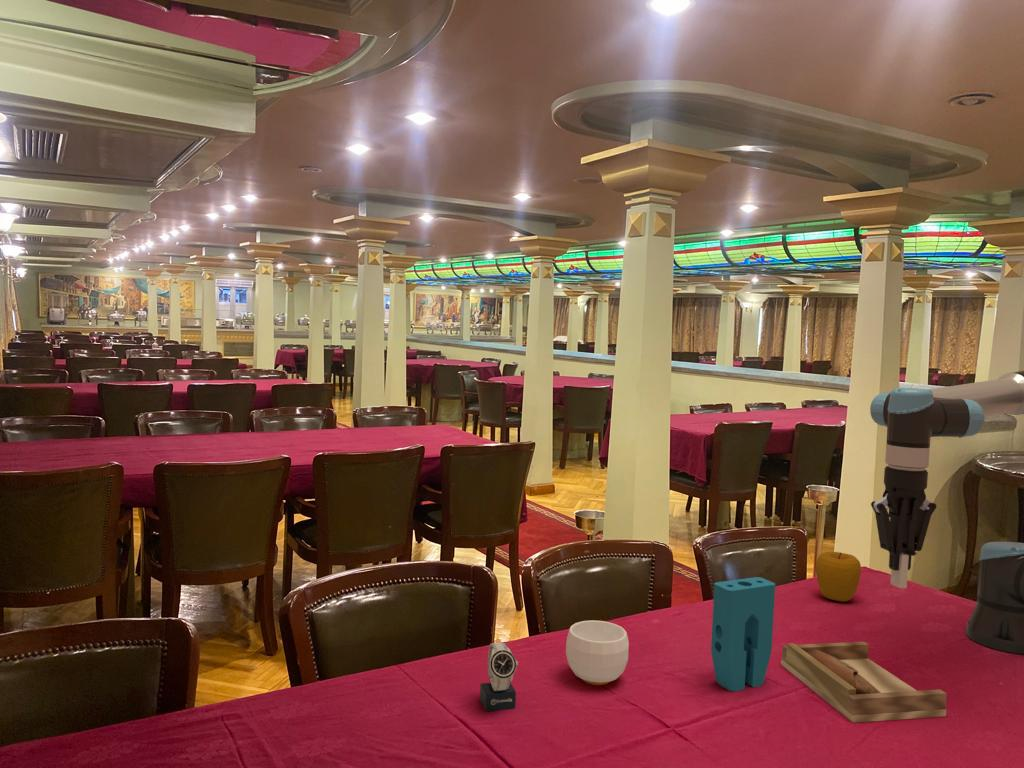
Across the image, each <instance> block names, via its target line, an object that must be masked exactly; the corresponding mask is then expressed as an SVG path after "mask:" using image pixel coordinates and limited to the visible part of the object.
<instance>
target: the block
mask: <svg viewBox="0 0 1024 768" xmlns="http://www.w3.org/2000/svg"><path fill="white" fill-rule="evenodd" d="M775 597H776V583H775V582H772V581H771V580H768V579H765V578H763V577H759V576H758V577H757V576H755V577H747V578H740V579H733V580H732V579H731V580H725V581H724V580H723V581H717V582H714V585H713V599H712V600H713V602H712V603H713V604H712V620H711V621H712V623H711V643H710V653H711V659H712V665H713V670H714V675H715V680H716V681H715V682H716V683H717V684H718V685H720V686H721V687H723V688H725V689H726V690H728V691H729V692H738V691H743V690H745V687H746V685H748V686H750V687H752V688H757V687H761V686H764V682H765V680H766V679H765V678H766V675H767V671H768V666H769V663H770V658H771V654H772V652H773V651H772V649H773V631H774V614H775V601H776V600H775ZM745 684H746V685H745Z"/></svg>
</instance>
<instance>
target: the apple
mask: <svg viewBox="0 0 1024 768" xmlns="http://www.w3.org/2000/svg"><path fill="white" fill-rule="evenodd" d="M818 555H819V556H818V558H817V559H816V563H815V564H816V565H815V575H816V576H815V577H816V580H817V582H818V583H817V584H818V587H819V590H820V593H821V594H822V596H823V597H825V598H826V599H828V600H832V601H837V602H848V601H850V600H851V599H852V598H853V597H854V596H855V594H856V592H857V590H858V587H859V583H860V579H861V575H862V574H861V573H862V565H861V562H860V560H859V559H858V558H857V557H856V556H854V555H852V554H851V553H850V554H849V553H844V552H840V551H824V552H823V553H820V554H818Z"/></svg>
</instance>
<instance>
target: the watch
mask: <svg viewBox="0 0 1024 768" xmlns="http://www.w3.org/2000/svg"><path fill="white" fill-rule="evenodd" d="M487 654H488V656H487V675H488V678H489V679H488V680H490V682H482V683H479V684H480V687H479V694H480V695H479V701H480V703H481V706H482V707H483V709H484V711H485V712H494V711H502V710H510V709H511V710H513V709H516V702H517V701H516V699H517V698H516V696H517V695H516V694H517V691H516V689H515V688H514V686H513V684H512V683H511V682H512V681H513V678H514V674H515V672H516V671H517V666H519V661H518V660H517V659H516V658H515V656H514V654H513V653H512V651H511V650H510V648H509V647H508V646H507V644H505V642H493V643H489V645H488V653H487Z"/></svg>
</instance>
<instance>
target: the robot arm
mask: <svg viewBox="0 0 1024 768" xmlns="http://www.w3.org/2000/svg"><path fill="white" fill-rule="evenodd" d="M869 408H870V409H869V410H870V417H871V419H872V420H873V421H874V423H876V424H877V425H878V426H882V427H886V444H885V459H884V462H885V464H886V466H885V467H884V473H883V484H884V491H883V493H882V498H880V499H879V500H878V501H874V500H873V501H872V502H871V503H870V506H871V509H872V510H873V512H874V515H875V521H876V527H877V534H878V541H879V547H880V548H881V549H883V550H885V551H888V553H889V556H888V557H889V558H888V568H889V569H890V570H891V571H890V585H892V586H893V587H897V588H898V589H907V588H908V587H907V585H908V573H909V571H910V570H911V566H912V565H911V564H912V556H913V557H914V556H916V555H917V552H921V551H922V550H923V546H924V542H925V539H926V535H927V532H928V528H929V524H930V521H931V518H932V515H933V514H934V512H935V511H936V509H937V504H936V503H935V502H934V503H933V502H931V501H929V500H928V499H927V496H926V492H925V490H926V489H927V488H928V480H929V479H928V478H929V471H928V470H927V468H928V467H929V466H930V447H931V438H933V437H935V438H936V437H937V438H939V437H943V438H946V437H948V438H949V437H950V438H952V437H953V438H959V439H961V438H964V437H972V436H975V435H977V434H978V433H979V432H981V430H982V429H983V427H984V425H985V416H990V415H996V414H997V415H998V414H1003V413H1005V414H1009V415H1012V416H1019V415H1024V370H1020V371H1015V372H1007V373H1005V374H1003V375H1001V376H999V378H997V379H996V378H995V379H991V380H985V381H984V380H983V381H976V382H970V383H965V384H964V383H963V384H957V385H951V386H943V387H934V388H931V389H930V388H929V389H926V388H916V387H915V388H914V387H895V388H893V389H891V391H890V392H881V393H878V394H877V395H876V396H875V397H873V399H872V401H871V402H870V406H869ZM980 550H981V551H980V556H979V559H978V580H977V583H978V584H977V597H976V604H975V606H974V608H973V610H972V613H971V616H970V619H969V620H968V621H967V622H966V629H965V630H966V631H965V634H966V636H967V638H968V639H970V640H972V641H974V642H975V643H977V644H980V645H982V646H985V647H987V648H990V649H994V650H997V651H1000V652H1001V651H1002V652H1005V653H1006V652H1007V653H1010V654H1011V653H1013V654H1020V655H1024V542H1014V541H989V542H986V543H984V544H983V545H982V546H981V549H980Z"/></svg>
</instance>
